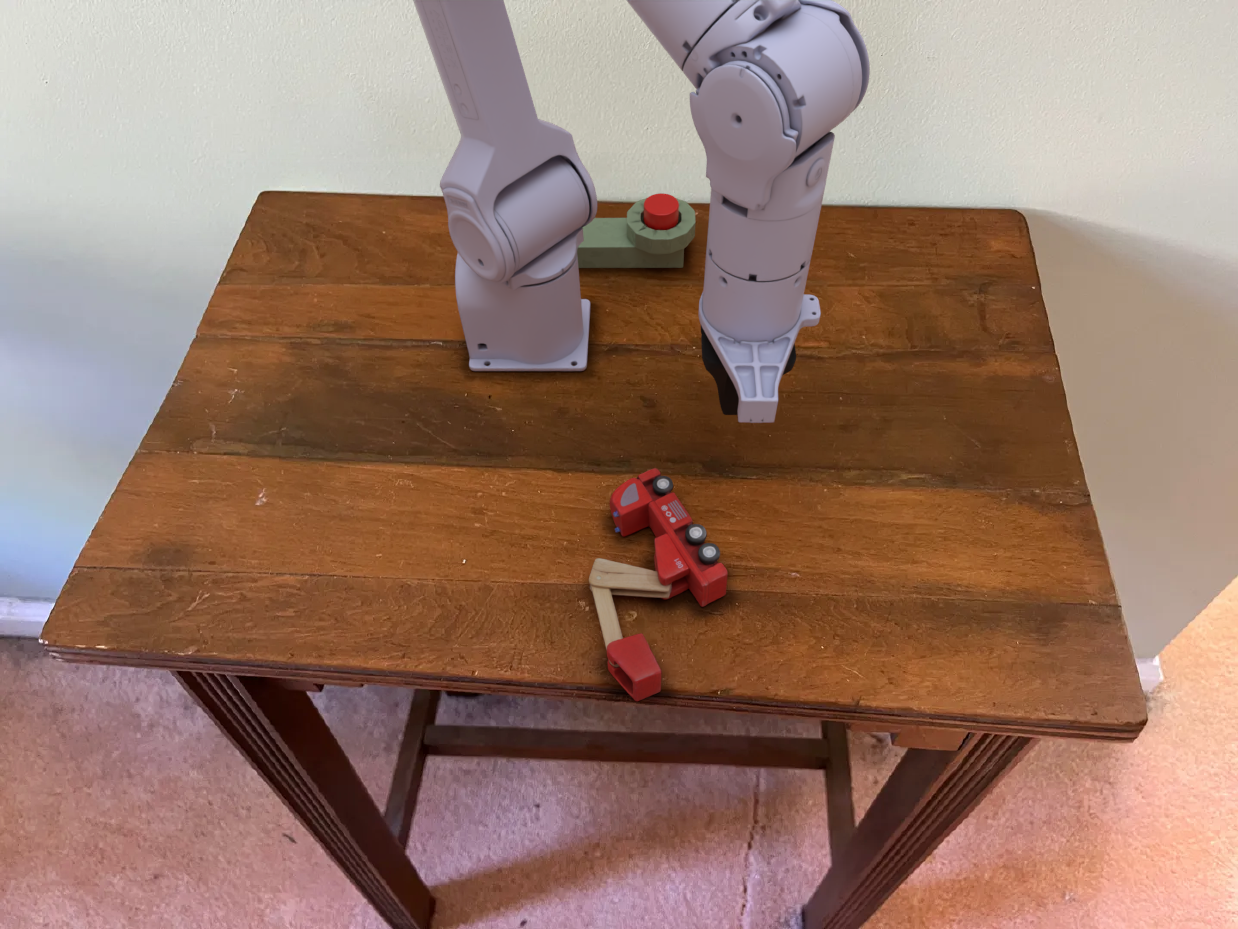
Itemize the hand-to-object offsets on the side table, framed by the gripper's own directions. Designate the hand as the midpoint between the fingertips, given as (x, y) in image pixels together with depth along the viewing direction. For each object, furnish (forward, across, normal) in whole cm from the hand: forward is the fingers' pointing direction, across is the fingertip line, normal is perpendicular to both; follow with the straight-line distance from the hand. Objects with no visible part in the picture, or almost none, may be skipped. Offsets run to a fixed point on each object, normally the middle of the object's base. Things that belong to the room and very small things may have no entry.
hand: (737, 407), depth 58 cm
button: (+3, +24, +5) cm, 25 cm away
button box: (+7, +24, +8) cm, 26 cm away
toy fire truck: (+5, -8, +2) cm, 9 cm away
